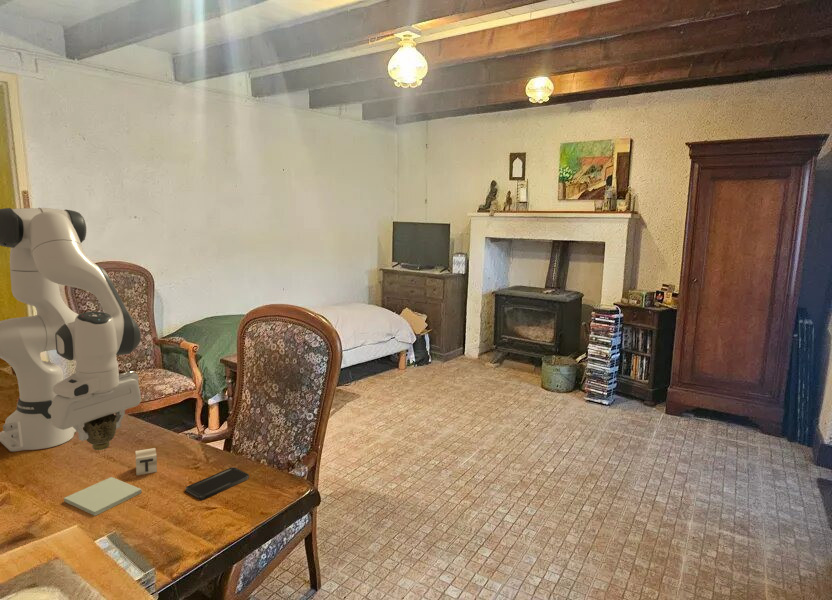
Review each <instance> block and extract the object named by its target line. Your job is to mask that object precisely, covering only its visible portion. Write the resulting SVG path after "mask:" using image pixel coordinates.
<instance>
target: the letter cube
mask: <svg viewBox="0 0 832 600" xmlns="http://www.w3.org/2000/svg"><path fill="white" fill-rule="evenodd" d="M157 458H158V457H157V450H156V447H152V448H147V449H140V450H135V471H136V474H135V475H136V476H141V475H147V474H153V473H157V472H158V460H157Z"/></svg>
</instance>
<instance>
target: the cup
mask: <svg viewBox="0 0 832 600" xmlns="http://www.w3.org/2000/svg"><path fill="white" fill-rule="evenodd" d="M116 423H117V415H116V414H115V413H113V414H110V415H107V416H104V417H101V418H98V419H95V420H92V421H89V422H86V423H84V427H83V428H82V429H83V430H84V431H85V432H88V434H89V439H86V442H88V443H89V444H90V445H91V446H92V449H93V450H95V451H103V450H105V449H106V450H107V448H108V447H110V441H113V440H112V439H114V437H115V435H116V430H117V429H116Z"/></svg>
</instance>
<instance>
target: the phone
mask: <svg viewBox="0 0 832 600" xmlns="http://www.w3.org/2000/svg"><path fill="white" fill-rule="evenodd" d="M249 475H250V474H248V473H247V472H245V471H243V470H241V469H238V468H237V467H235V466H234V467H233V466H232V467H229V468H227V469H223V470H222V471H220V472H218V473H214V474H212V475H211V476H208V477H206V478H203V479H201V480H199V481H197V482H193V483H192V484H189V485H187V486H186V487H185V492H186V493H188V494H189V495H191V496H192V497H194V498H195V499H198V500H201V501H203V500H206V499H208V498H210V497H212V496H215V495H217V494H219V493H221V492H224V491H225V490H227V489H231V488H232V487H234V486H236V485H238V484H241V483H243V482H245V481H247V480H248V479H250V476H249Z"/></svg>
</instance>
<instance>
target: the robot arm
mask: <svg viewBox="0 0 832 600" xmlns="http://www.w3.org/2000/svg"><path fill="white" fill-rule="evenodd" d="M87 229H88V228H87V225H86V220H85V217H84V216H83V215H82V214H81V213H80V212H78V211H75V210H70V209H64V210H63V209H59V208H58V209H57V208H48V207H38V208H37V207H35V208H34V207H31V208H30V207H25V208H11V207H4V208H0V246H1V247H5V248H10V252H9V253H10V254H9V271H10V284H11V285H10V286H11V293H12V296H13V298H14V299H16V300H17V301H18V302H20V303H23V304H26V305H29V306H33V307H34V308H35V310H36V315H31V316H22V317H21V316H20V317H14V318H13V317H12V318H8V319H3V320H0V359H1V360H3V361H5V362H6V363H7V364H8V365H9V366H10V367H12V369H13V371H14V372H15V373H14V374H15V375H16V378H17V379H16V380H17V384H18V385H17V386H18V392H19V397H16V402H17V403H16V409H15V411H13V412H12V413H11V414H10V415H9V416H7V417H6V418H5V423H4V424H3V425H2V431H0V443H1V444H2V445H3V446H4V447H5V448H6V449H7V450H8V451H9V452H19V451H21V452H22V451H31V450H32V451H33V450H35V451H36V450H41V449H42V450H43V449H48V448H52V447H56V446H59V445H62V444H65V443H67V442H68V441H70V440H71V439H73V438H74V436H75V433H76V432H77V433H78V439H79V441H82V442H83V441H85V440H86V439H89V434H88V432H85V431H84V430H83V427H84V423H86V422H89V421H92V420H95V419H98V418H101V417H104V416H107V415H110V414H113V413H114V415H117V423H116V430H117V429H120V428H121V427H122V425H121V423H122V420H123V418H124V416H125V413H126V410H129V409H131V408H134V407H137V406H139V405H140V403H141V401H142V396H141V389H140V384H139V374H138V373H136V372H135V371H133V370H128V371H125V372H121V373H120V371H119V363H118V360H117V356H125V355H130V354H131V353H132V352H134V350H136V349H137V348H138V346H139V345H140V343H141V339H142V337H141V331H140V328H139V325H138V323H137V322H136V320H135V318H133V317H132V315H131V314H130V312H129V310H128V309H127V307H126V305H125V303H124V302H123V300H122V298H121V296H120V295H119V293H118V291H117V289H116V287H115V285H114V283H113V281H112V280H111V278H110V276H109V275H108V273H107V271H106V270H105V269H104V268H103V267H102V266H101V265H99V264H97V263H95V262H94V261H93V260H91V258H90V257H88V255H87V254H86V253H85V251H84V248H83V246H82V244H83V242H84V241H85V240H86V237H87ZM60 286H67V287H71V288H76V289H80V290H82V291H85V292H89V293H91V294H92V295H93V296H94V297H95V298H96V299H97V301H98V302H99V304H100V306H101V309H102V311H95V310H93V311H87V312H82V313H79V314H78V313H77V312H75V311H73V310H72V309H71V308H69V306H68V305H67V304H66V303H65V302H64V299H63V297H62V295H61V292H60ZM55 350H56V354H58V356H60V357H62V358H63V359H65V360H67V361H75V362H76V364H75V365H76V366H75V369H74V371H75V372H74V373H72V374H71V375H70V376H68V377H66V378H65V375H64V370H63V369H62V367H61V366H59V365H58V364H56V363H53V362H50V361H46V360H42V358H41V357H42V356H41V353H45V352H51V351H55ZM86 441H87V440H86Z"/></svg>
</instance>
